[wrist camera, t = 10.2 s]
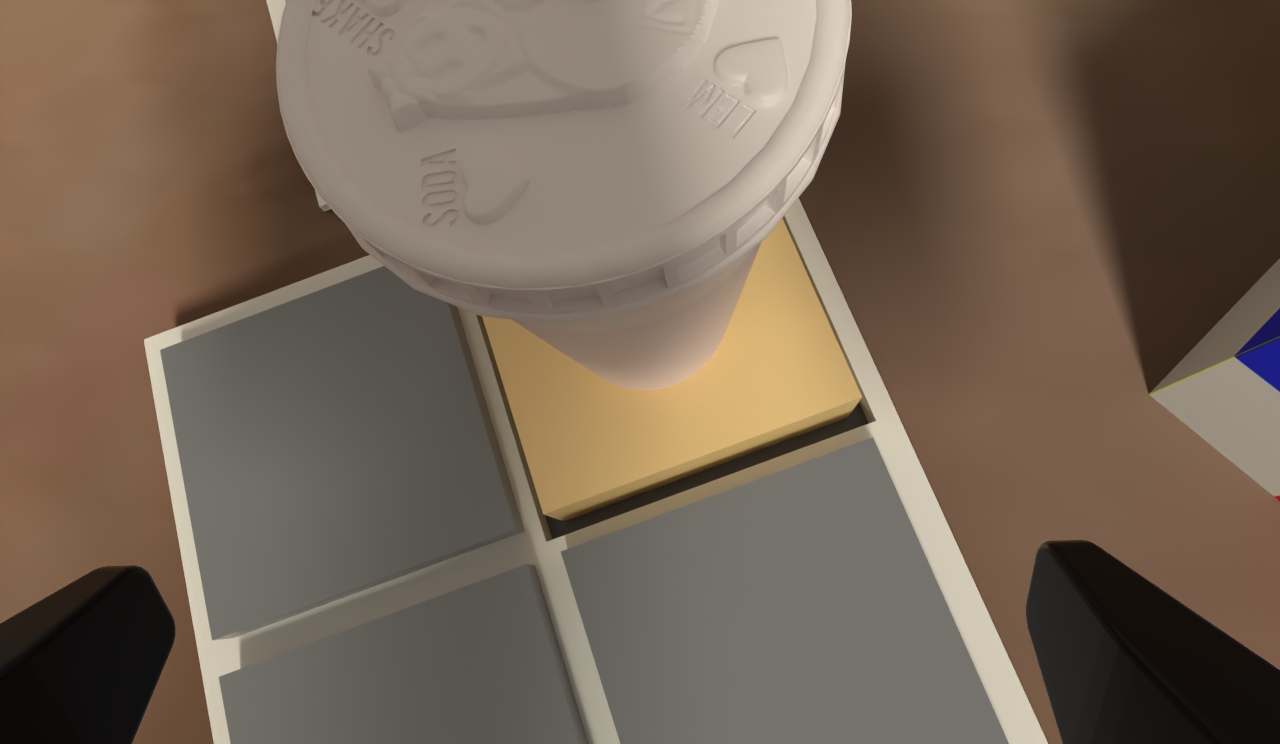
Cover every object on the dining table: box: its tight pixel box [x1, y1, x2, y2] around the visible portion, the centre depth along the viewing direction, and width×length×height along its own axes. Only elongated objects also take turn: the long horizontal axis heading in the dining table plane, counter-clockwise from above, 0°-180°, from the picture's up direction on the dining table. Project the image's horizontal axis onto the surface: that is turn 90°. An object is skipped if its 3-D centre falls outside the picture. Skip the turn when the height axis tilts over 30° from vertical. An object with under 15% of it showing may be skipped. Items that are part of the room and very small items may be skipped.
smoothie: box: [276, 0, 852, 390], centre depth 11 cm, size 6×6×14 cm
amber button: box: [482, 218, 862, 522], centre depth 19 cm, size 7×7×2 cm
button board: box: [144, 198, 1048, 744], centre depth 17 cm, size 25×17×2 cm
